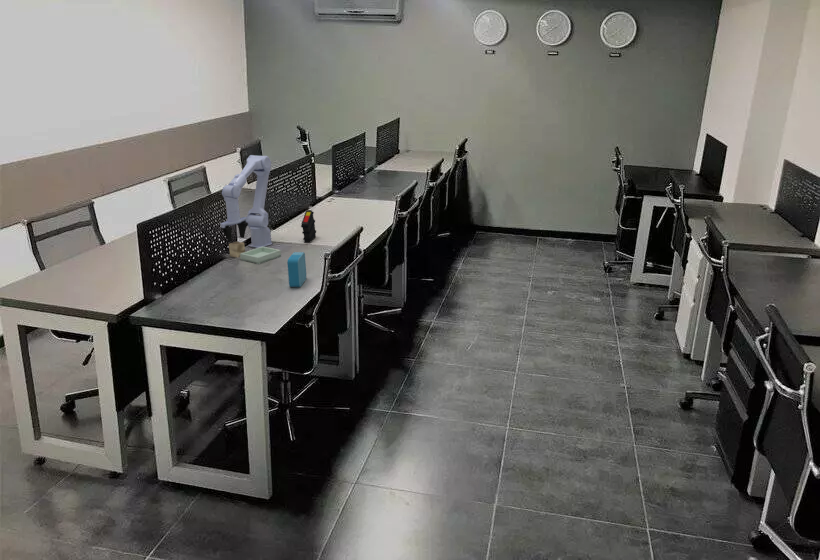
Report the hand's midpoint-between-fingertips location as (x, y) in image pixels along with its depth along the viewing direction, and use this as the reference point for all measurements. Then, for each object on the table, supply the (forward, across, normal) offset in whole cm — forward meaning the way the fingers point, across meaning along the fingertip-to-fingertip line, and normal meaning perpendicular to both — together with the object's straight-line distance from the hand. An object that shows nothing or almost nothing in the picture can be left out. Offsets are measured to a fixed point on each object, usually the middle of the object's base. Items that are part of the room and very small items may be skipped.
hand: (236, 239), depth 311 cm
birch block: (+8, 0, 0) cm, 8 cm away
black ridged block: (+8, -37, +12) cm, 40 cm away
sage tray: (+8, -3, +12) cm, 15 cm away
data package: (+8, +13, +52) cm, 54 cm away
